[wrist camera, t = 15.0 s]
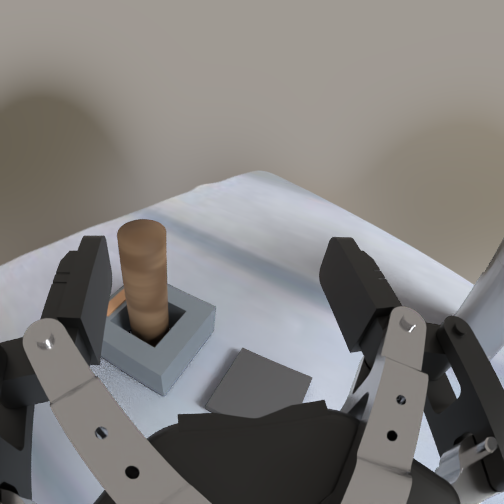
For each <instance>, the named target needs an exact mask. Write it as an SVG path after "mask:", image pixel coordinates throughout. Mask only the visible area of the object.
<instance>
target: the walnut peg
mask: <svg viewBox="0 0 504 504" xmlns="http://www.w3.org/2000/svg"><path fill="white" fill-rule="evenodd" d="M117 238H118V247H119V255H120V263H121V270H122V277H123V284H124V291H125V297H126V303H127V309H128V314H129V320H130V325H131V330H132V335H134V336H135V337H137V338H139V339H140V340H142V341H144V342H145V343H147V344H149V345H151V346H152V347H154V348H155V347H156V346H157V345H158V343H159V342H160V341H161V340H162V339H163V338H164V336H165V335H166V334H167V333H168V332H169V314H168V292H167V257H166V229H165V227H164V226H163V225H162V224H160V223H159V222H156V221H153V220H147V219H140V220H134V221H130V222H128V223H126V224H124V225H123V226H122V227H120V229H119V230H118V233H117Z"/></svg>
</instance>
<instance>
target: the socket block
mask: <svg viewBox="0 0 504 504" xmlns="http://www.w3.org/2000/svg"><path fill="white" fill-rule="evenodd" d="M167 292H168V314H169V326H170V327H172V328H171V330H170V331H169V332H168V333H167V334H166V335H165V336H164V338H163V339H162V340H161V341H160V342H159V343H158V345H157V346H156V347H155V348H154V347H152V346H151V345H149V344H147V343H145V342H144V341H142V340H140V339H139V338H137V337H135V336H134V335H132V334H130V333H129V331H130V330H131V325H130V320H129V314H128V309H127V303H126V297H125V291H124V285H123V286H122V287H121V288H120V289H119V290H118V291H117V292H115V293H114V294H113V295H112V296H111V297H110V299H109V304H108V310H107V316H106V323H105V329H104V336H103V343H102V351H101V357H103V358H104V359H106V360H107V361H109V362H110V363H111V364H113V365H114V366H116V367H117V368H119V369H120V370H122V371H123V372H125V373H126V374H128V375H130V376H131V377H133V378H134V379H136V380H137V381H139V382H141V383H142V384H144V385H145V386H147V387H149V388H150V389H152V390H154V391H155V392H157V393H159V394H160V395H162V396H165V395H166V393H167V392H168V391H169V389H170V388H171V387H172V385H173V384H174V383H175V382H176V380H177V379H178V378H179V376H180V375H181V374H182V372H183V371H184V370H185V368H186V367H187V366H188V364H189V363H190V362H191V360H192V359H193V358H194V356H195V355H196V354H197V352H198V351H199V350H200V348H201V347H202V346H203V344H204V343H205V342H206V340H207V339H208V338H209V336H210V335H211V333H212V332H213V331H214V321H215V312H216V306H213V305H211V304H209V303H207V302H205V301H203V300H200V299H198V298H196V297H194V296H192V295H190V294H188V293H186V292H184V291H181V290H179V289H177V288H175V287H173V286H171V285H169V284H167Z"/></svg>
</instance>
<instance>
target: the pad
mask: <svg viewBox="0 0 504 504" xmlns="http://www.w3.org/2000/svg"><path fill="white" fill-rule="evenodd" d="M311 380H312V377H310V376H307V375H305V374H303V373H300V372H298V371H295V370H293V369H290V368H288V367H286V366H283V365H281V364H278V363H276V362H274V361H271V360H269V359H267V358H265V357H262V356H260V355H258V354H255V353H253V352H251V351H249V350H247V349H244V348H242V350H241V351H240V353H239V354H238V356H237V357H236V359H235V361H234V362H233V364H232V365H231V367H230V369H229V370H228V372H227V373H226V375H225V376H224V378H223V379H222V381H221V383H220V384H219V386H218V387H217V389H216V390H215V392H214V393H213V395H212V396H211V398H210V400H209V401H208V403H207V404H206V408H205V409H207V410H209V411H211V412H213V413H220V414H226V415H233V416H240V417H247V418H259V417H262V416H265V415H268V414H270V413H273V412H275V411H278V410H280V409H283V408H285V407H288V406H290V405H296V404H302V402H303V399H304V397H305V395H306V392H307V390H308V387H309V385H310V382H311Z"/></svg>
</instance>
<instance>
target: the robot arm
mask: <svg viewBox="0 0 504 504" xmlns="http://www.w3.org/2000/svg"><path fill="white" fill-rule="evenodd" d="M319 279H320V284H321V286H322V288H323V291H324V293H325V295H326V298H327V300H328V302H329V304H330V307H331V309H332V311H333V314H334V316H335V318H336V321H337V323H338V325H339V328H340V330H341V332H342V335H343V337H344V339H345V342H346V344H347V347H348V349H349V351H350V353H352V352H358V351H362V353H363V355H364V356H363V357H362V359H361V361H360V363H359V366H358V369H357V372H356V375H355V378H354V381H353V384H352V387H351V389H350V392H349V395H348V397H347V400H346V402H345V404H344V406H343V407H342V409H341V410H340V411H337V410H332V409H327V406H326V403H325V400H321V401H315V402H309V403H302V404H296V405H290V406H288V407H285V408H283V409H280V410H278V411H275V412H273V413H270V414H268V415H265V416H262V417H259V418H247V417H240V416H233V415H226V414H220V413H203V414H178V423H177V424H174V425H170V426H168V427H165V428H163V429H161V430H159V431H157V432H155V433H154V434H152V435H151V436H150V437H148V438H147V439H146V438H145V437H144V436H143V434H142V433H141V432H140V431H139V430H138V428H137V427H136V426H135V425H134V424H133V422H132V421H131V420H130V419H129V417H128V416H127V415H126V414H125V412H124V411H123V410H122V408H121V407H120V406H119V405H118V403H117V402H116V401H115V399H114V398H113V397H112V395H111V394H110V393H109V391H108V390H107V388H106V387H105V386H104V384H103V383H102V382H101V380H100V379H99V378H98V377H97V376H95V375H94V373H93V372H92V370H91V369H90V365H100V359H101V351H102V343H103V336H104V329H105V323H106V316H107V310H108V304H109V299H110V293H111V287H112V270H111V265H110V260H109V254H108V248H107V242H106V238H105V236H83V238H82V240H81V243H80V246H79V248H78V251H69V252H68V253H67V254H66V255H65V257H64V258H63V259H62V260H61V261H60V264H59V266H58V269H57V271H56V275H55V277H54V280H53V284H52V285H51V288H50V291H49V294H48V297H47V300H46V303H45V306H44V309H43V312H42V316H41V319H40V320H38V321H36V322H34V323H33V324H31V325H30V326H29V327H28V329H27V330H26V332H25V334H24V337H21V338H18V339H14V340H10V341H6V342H1V343H0V504H37V503H35V502H34V501H32V492H31V448H32V428H33V415H34V404H38V403H43V402H47V401H50V403H51V404H50V407H51V409H52V411H53V413H54V415H55V417H56V418H57V420H58V422H59V423H60V425H61V427H62V428H63V430H64V432H65V433H66V435H67V437H68V438H69V440H70V441H71V443H72V444H73V446H74V447H75V449H76V450H77V452H78V453H79V455H80V456H81V458H82V459H83V461H84V462H85V464H86V465H87V466H88V468H89V469H90V471H91V472H92V473H93V475H94V476H95V477H96V479H97V480H98V481H99V483H100V484H101V485H102V487H103V488H104V489H105V490H104V491H103V493H102V494H101V495H100V496H99V498H98V499H97V500H96V501H95V503H94V504H479V503H481V502H482V501H484V500H486V499H488V498H491V497H493V496H495V495H498V494H500V493H502V492H504V389H503V387H502V385H501V383H500V381H499V379H498V377H497V375H496V373H495V371H494V369H493V367H492V365H491V363H490V360H491V359H492V358H493V357H494V356H495V355H496V354H497V353H498V351H499V350H500V349H501V348H502V347H503V346H504V238H503V240H502V242H501V244H500V245H499V247H498V249H497V251H496V253H495V255H494V256H493V258H492V260H491V262H490V263H489V265H488V267H487V268H486V270H485V272H483V273H482V274H481V276H480V277H479V279H478V281H477V282H476V284H475V285H474V287H473V288H472V290H471V292H470V293H469V295H468V296H467V298H466V299H465V301H464V302H463V304H462V305H461V307H460V308H459V310H458V311H457V312H456V314H455V315H454V316H449V317H447V318H446V319H445V320H444V322H443V323H442V324H441V325H437V324H431V323H425V321H424V319H423V318H422V316H421V315H420V314H419V313H418V312H416V311H415V310H413V309H411V308H409V307H405V306H402V305H401V303H400V301H399V300H398V298H397V296H396V295H395V293H394V291H393V290H392V288H391V287H390V285H389V283H388V282H387V280H386V279H385V277H384V275H383V274H382V272H381V271H380V269H379V267H378V266H377V264H376V263H375V261H374V259H372V258H371V257H370V256H369V255H368V254H367V253H365V252H364V251H361V250H360V249H359V247H358V245H357V244H356V242H355V241H354V239H353V238H350V237H332V238H331V239H330V241H329V244H328V247H327V250H326V253H325V256H324V259H323V261H322V264H321V267H320V272H319ZM450 367H452V369H453V371H454V373H455V375H456V377H457V380H458V382H459V384H460V387H461V393H460V396H459V398H458V399H457V398H456V396H455V393H454V391H453V389H452V387H451V384H450V382H449V380H448V378H447V376H446V373H445V372H446V371H447V370H448V369H449V368H450ZM423 411H424V413H425V416H426V419H427V421H428V424H429V427H430V429H431V432H432V435H433V438H434V441H435V444H436V446H437V449H438V452H439V455H440V458H441V459H440V462H439V467H437V468H436V470H435V472H433V471H431V470H430V469H428V468H427V467H425V466H424V465H423V464H421V463H420V462H418V461H417V460H415V459H414V458H413V457H414V453H415V449H416V444H417V440H418V435H419V431H420V426H421V421H422V416H423Z"/></svg>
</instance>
